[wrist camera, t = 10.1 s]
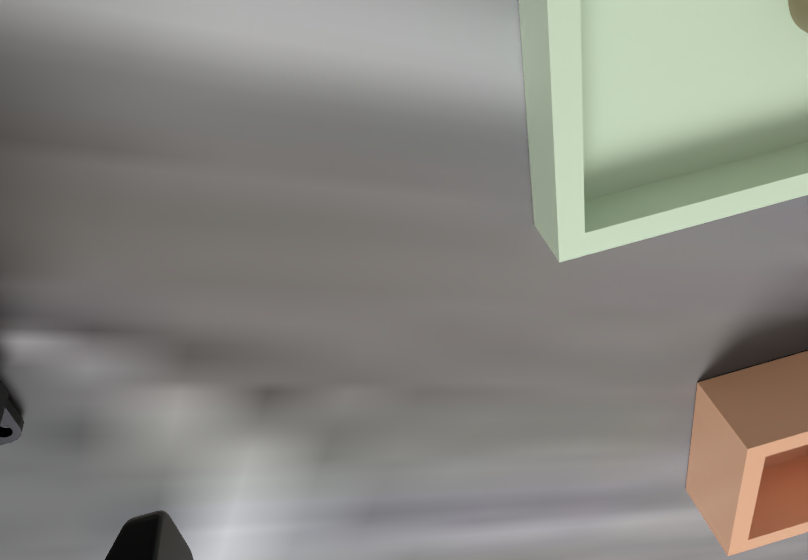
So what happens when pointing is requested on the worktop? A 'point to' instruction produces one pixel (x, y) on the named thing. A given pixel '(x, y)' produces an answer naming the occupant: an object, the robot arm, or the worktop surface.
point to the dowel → (799, 13)
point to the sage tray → (660, 115)
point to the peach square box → (752, 453)
